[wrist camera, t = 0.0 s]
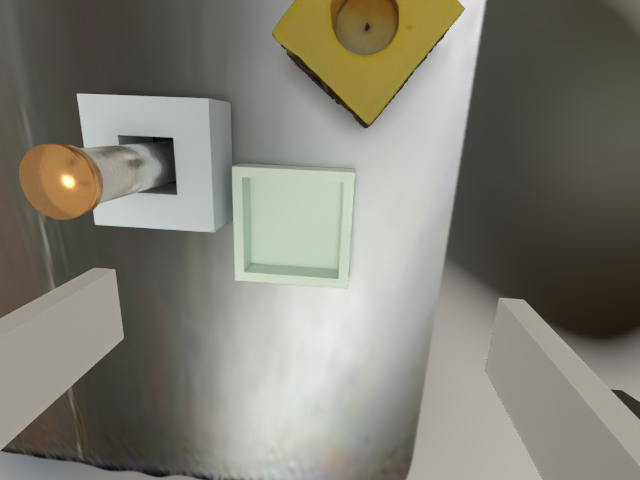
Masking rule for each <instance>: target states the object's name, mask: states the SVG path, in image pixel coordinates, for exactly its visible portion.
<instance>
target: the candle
mask: <svg viewBox="0 0 640 480" xmlns="http://www.w3.org/2000/svg"><path fill="white" fill-rule="evenodd" d="M464 9H465V8H464V7H463V6H462V5H461V4H460V3H459V2H458V0H296V1H295V2H294V3H293V4H292V6H291V7H290V8H289V9H288V11H287V12H286V13H285V15H284V16H283V17H282V19H281V20H280V21H279V23H278V24H277V26H276V27H275V29H274V30H273V33H272V35H273V37H274V38H275V39H276V41H277V42H279V43H280V44H281V46H282V47H283V48H284V49H286V51H287V55H288V56H289V57H290V58H291V59H292V60H293V61H294V62H295V64H296V65H297V66H298V67H299V68H300V69H302V71H304V72H305V73H306V74H307V75H308V76H309V77H310V78H311V79H312V81H314V82H315V83H316V84H317V85H318V86H319V87H320V88H322V89H323V90H324V91H325V92H326V93H327V94H328V95H329V96H330V97H331V98H332V99H335V100H336V103H337V104H341V105H343V106H344V107H345V108H346V109H347V110H348V111H350V112H351V113H352V114H353V116H354V118H355V119H356V121H358V122H359V123H360V124H361V125H362V126H363V127H364V128H368V127H369V126H370V125H371V124H372V123H373V122H374V121H375V120H376V118H377V117H378V116H379V115H380V114H381V113H382V111H383V110H384V108H385V107H386V106H387V105H388V104H389V103H390V102H391V100H392V99H393V98H394V97H395V95H396V94H397V93H398V92H399V91H400V89H401V88H402V87H403V86H404V84H405V83H406V82H407V81H408V78H409V77H410V76H411V75H412V74H413V72H414V70H415V69H416V68H417V67H418V66H420V64H421V63H422V62H423V61H424V60H425V59H426V58H427V55H428V53H430V52H431V51H432V50H433V47H435V46H436V45H437V43H438V42H439V41H440V40H441V39H443V37H444V35H445V34H446V32H447V31H448V30H449V28H450V27H451V26H452V25H453V24H454V22H455V21H456V20H457V19H458V17H459V16H460V15H461V13H462V12H463V11H464Z"/></svg>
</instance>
